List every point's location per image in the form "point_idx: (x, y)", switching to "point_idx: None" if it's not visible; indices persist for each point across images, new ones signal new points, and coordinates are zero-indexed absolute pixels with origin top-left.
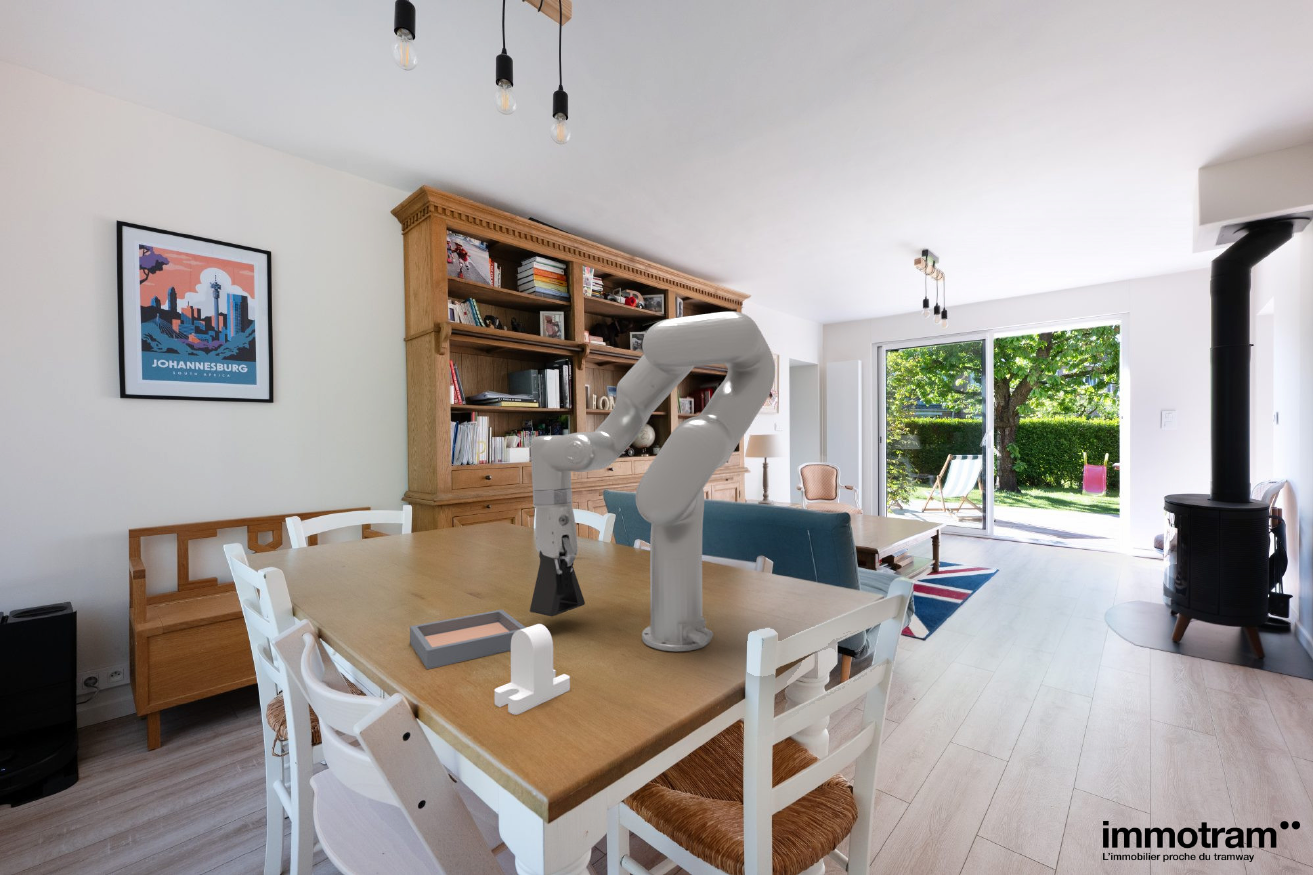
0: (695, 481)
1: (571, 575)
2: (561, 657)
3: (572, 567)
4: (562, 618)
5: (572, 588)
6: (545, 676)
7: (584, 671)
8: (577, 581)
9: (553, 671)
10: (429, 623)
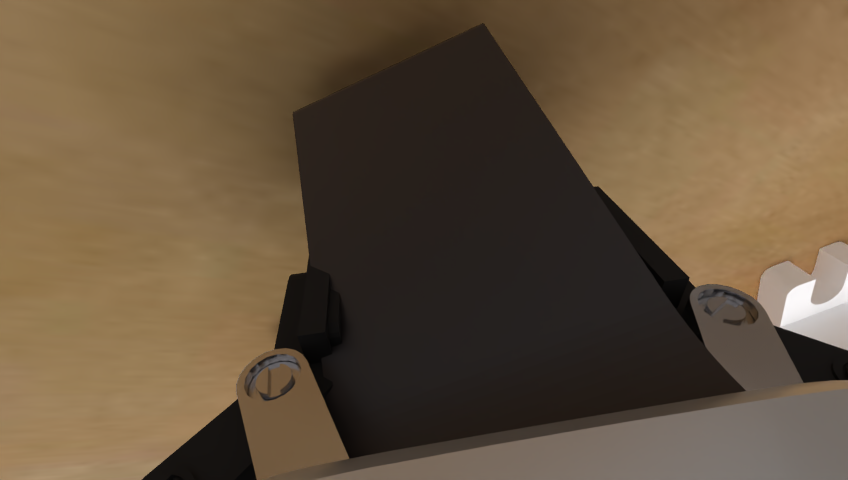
0: None
1: (664, 258)
2: (685, 214)
3: (641, 267)
4: (293, 88)
5: (606, 196)
6: None
7: (812, 184)
8: (561, 142)
9: (814, 283)
10: None
